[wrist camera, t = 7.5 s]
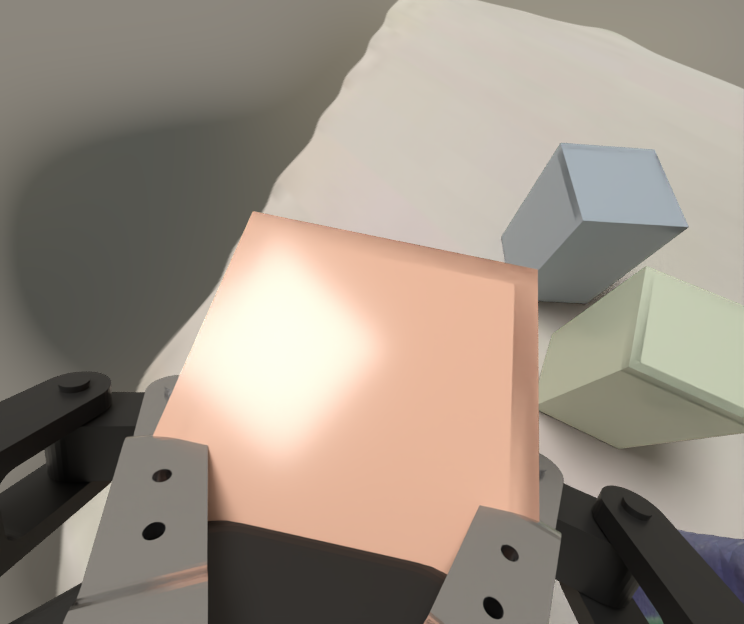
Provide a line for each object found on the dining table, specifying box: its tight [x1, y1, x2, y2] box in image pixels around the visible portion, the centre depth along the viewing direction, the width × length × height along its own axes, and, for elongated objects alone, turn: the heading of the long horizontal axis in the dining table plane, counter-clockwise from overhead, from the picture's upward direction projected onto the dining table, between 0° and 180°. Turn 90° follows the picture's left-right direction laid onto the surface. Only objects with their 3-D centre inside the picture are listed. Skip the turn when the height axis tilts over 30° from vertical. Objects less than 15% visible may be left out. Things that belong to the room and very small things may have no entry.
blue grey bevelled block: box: [501, 143, 689, 304], centre depth 27 cm, size 6×6×10 cm
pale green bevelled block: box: [539, 266, 744, 449], centre depth 23 cm, size 6×6×10 cm
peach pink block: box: [153, 211, 539, 574], centre depth 11 cm, size 6×6×10 cm
